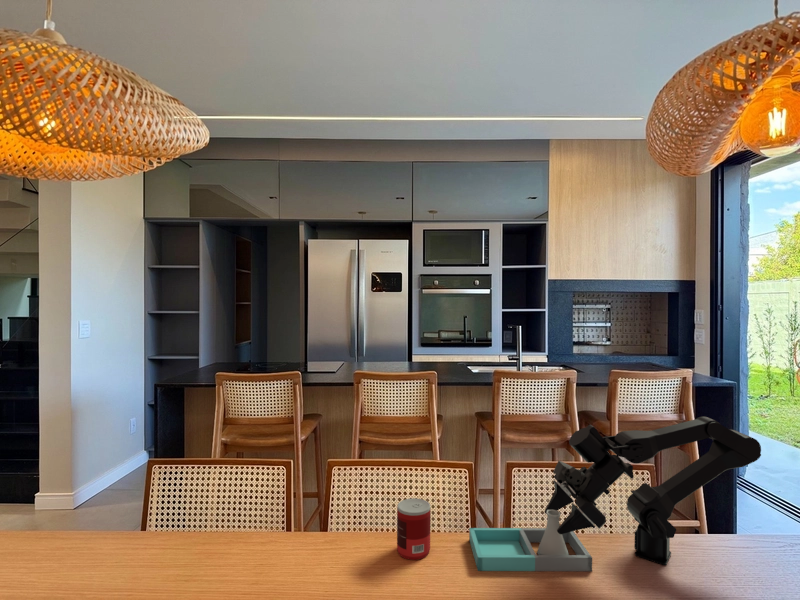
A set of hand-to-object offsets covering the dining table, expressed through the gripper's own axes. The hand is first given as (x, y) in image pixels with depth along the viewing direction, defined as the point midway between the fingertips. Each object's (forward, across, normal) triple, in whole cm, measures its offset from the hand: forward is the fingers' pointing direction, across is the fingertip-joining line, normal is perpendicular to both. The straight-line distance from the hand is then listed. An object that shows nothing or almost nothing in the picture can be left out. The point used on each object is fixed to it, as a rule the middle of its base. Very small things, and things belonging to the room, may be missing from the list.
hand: (551, 522), depth 112 cm
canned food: (+28, -1, -17) cm, 33 cm away
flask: (+5, 0, +6) cm, 8 cm away
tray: (+9, 0, +1) cm, 9 cm away
